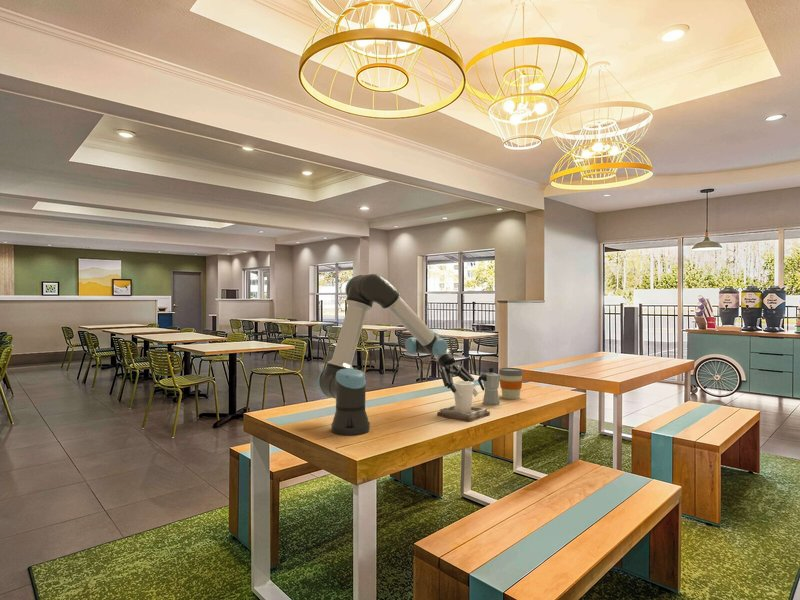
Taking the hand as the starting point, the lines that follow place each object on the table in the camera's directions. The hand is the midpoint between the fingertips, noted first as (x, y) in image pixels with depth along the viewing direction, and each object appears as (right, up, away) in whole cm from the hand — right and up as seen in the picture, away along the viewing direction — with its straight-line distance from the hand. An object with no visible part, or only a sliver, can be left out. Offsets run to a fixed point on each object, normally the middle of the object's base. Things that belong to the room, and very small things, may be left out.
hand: (468, 396), depth 203 cm
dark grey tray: (-2, -9, +2) cm, 9 cm away
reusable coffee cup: (+29, -10, +43) cm, 53 cm away
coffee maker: (+15, -9, +27) cm, 32 cm away
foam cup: (-2, -8, +2) cm, 8 cm away
